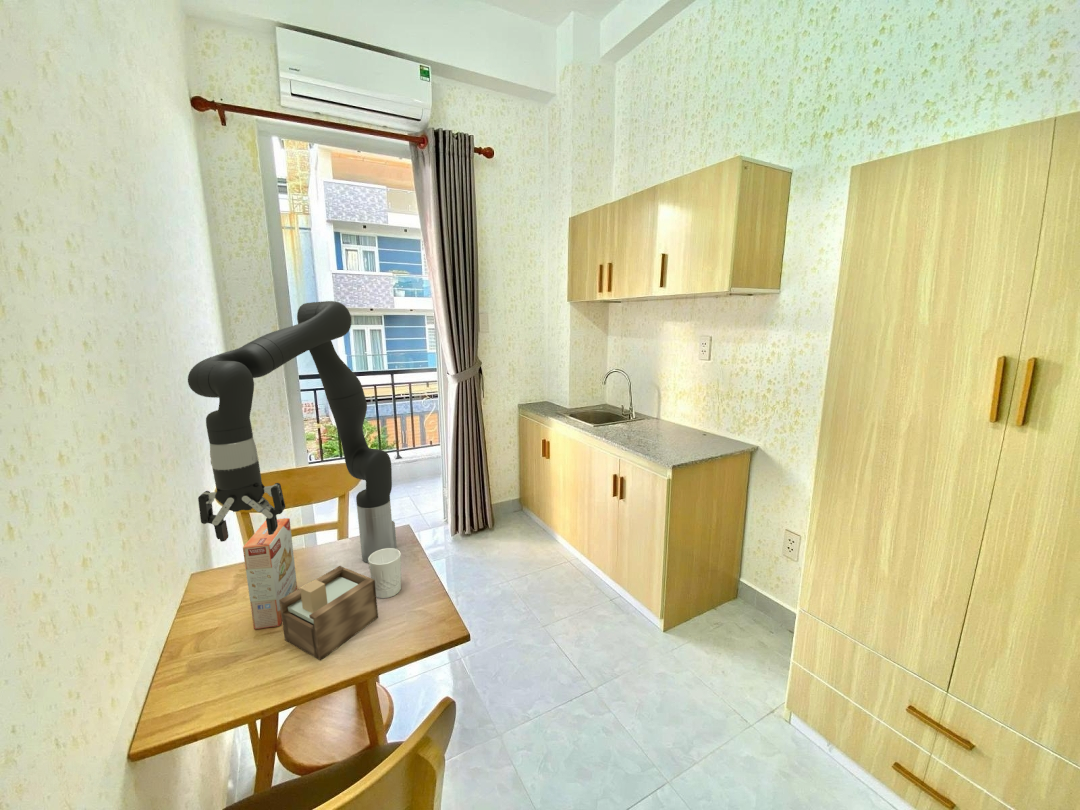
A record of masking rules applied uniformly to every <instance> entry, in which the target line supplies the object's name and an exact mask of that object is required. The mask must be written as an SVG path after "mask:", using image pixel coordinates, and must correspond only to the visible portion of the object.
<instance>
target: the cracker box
mask: <svg viewBox="0 0 1080 810" xmlns="http://www.w3.org/2000/svg"><path fill="white" fill-rule="evenodd" d="M277 523H278V527H277V529H276V531H275V532H274V533H273V534H272V535H269V534H268V529H267V523H266V520H264V522H263V523H262V524H261V525H260V527H259V528H257V529H256V531H255V532H254V533H253V535H252V536H251V537H250V538H249V539H248V540H247V542H246V543H245V544H244V545H242V551H243V552H242V553H243V559H244V567H245V574H246V580H247V581H246V582H247V588H248V589H247V590H248V594H249V595H248V596H249V602H250V603H249V604H250V610H251V617H252V624H253V630H260V629H267V628H274V627H280V626H281V625H282V617H281V610H280V602H279V600H280V599H282V598H284V597H285V596H287V595H289V594H291V593H292V592H294V591H296V590H298V582H297V574H296V565H295V556H294V548H293V547H294V546H293V537H292V528H291V519H290V518H289V517H288V518H287V517H286V518H285V517H284V518H277Z"/></svg>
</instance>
